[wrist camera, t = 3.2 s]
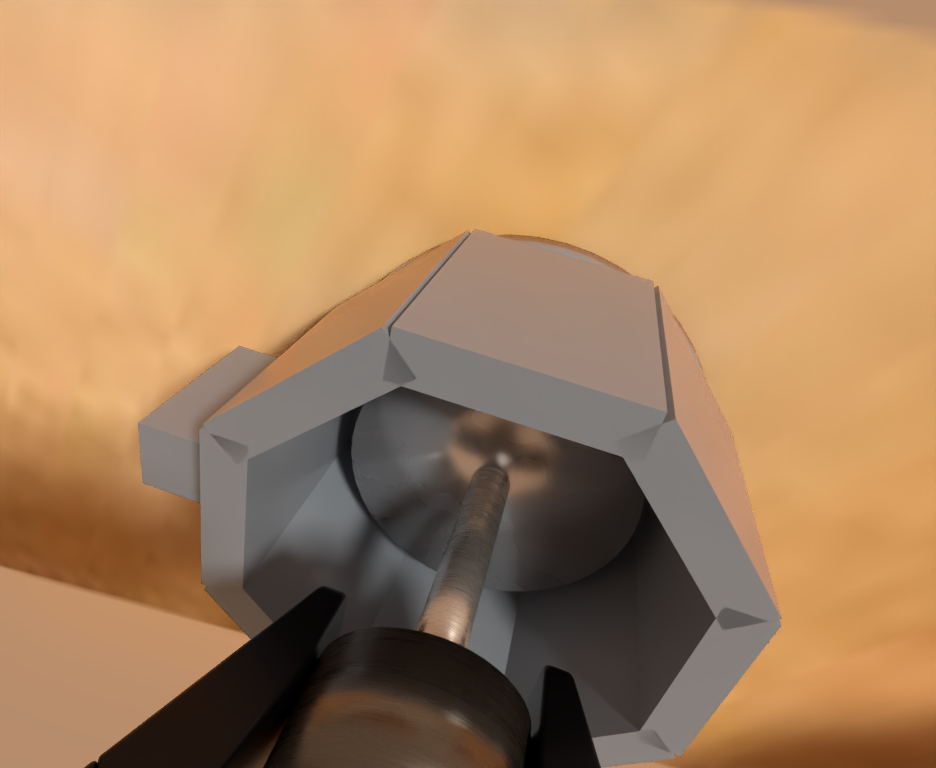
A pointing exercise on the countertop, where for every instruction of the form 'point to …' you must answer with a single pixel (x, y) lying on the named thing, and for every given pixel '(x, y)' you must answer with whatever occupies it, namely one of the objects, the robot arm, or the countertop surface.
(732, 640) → the press pot
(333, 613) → the robot arm
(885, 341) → the countertop surface
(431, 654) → the plunger
